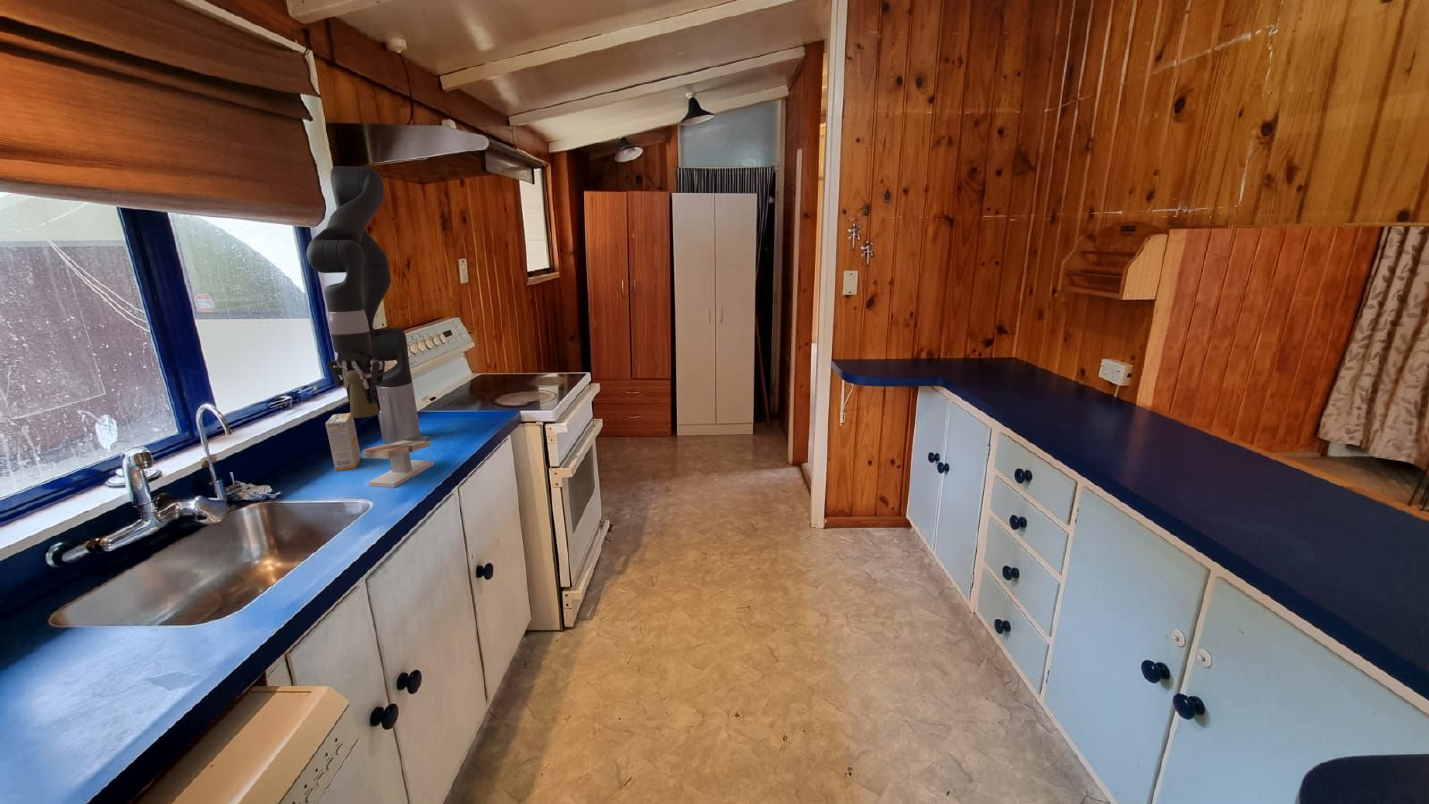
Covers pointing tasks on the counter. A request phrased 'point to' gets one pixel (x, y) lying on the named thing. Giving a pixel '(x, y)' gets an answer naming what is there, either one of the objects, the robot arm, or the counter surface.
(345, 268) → the robot arm
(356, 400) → the cork
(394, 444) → the seesaw
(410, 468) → the seesaw stand
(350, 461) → the supplement box
